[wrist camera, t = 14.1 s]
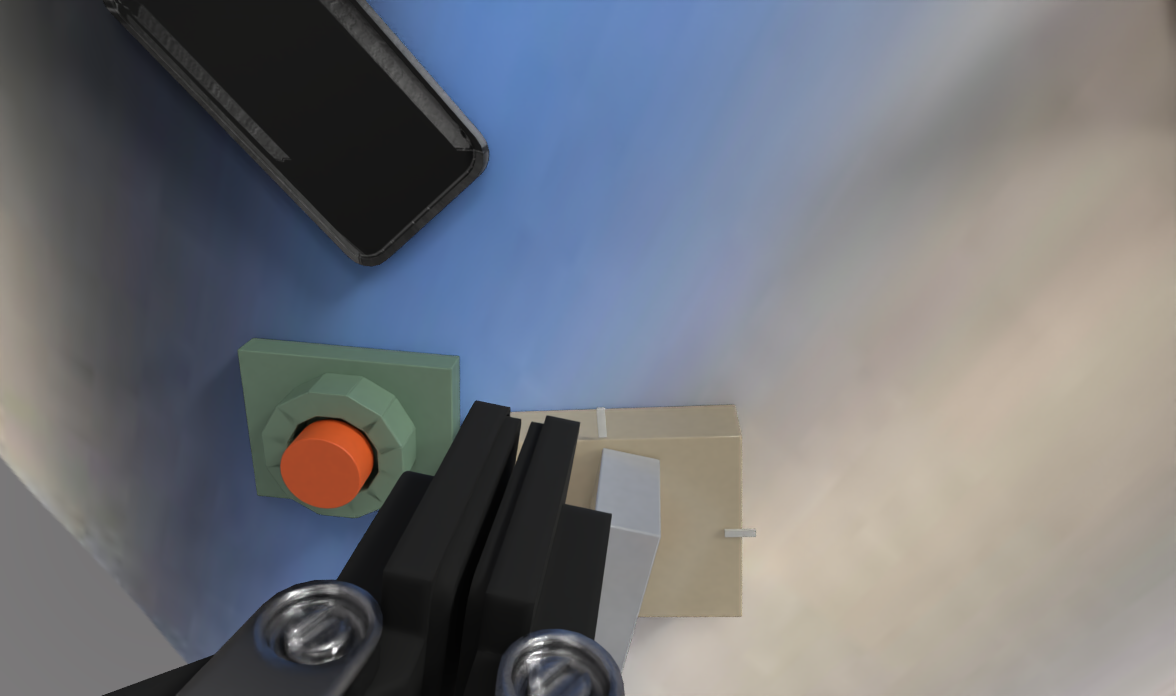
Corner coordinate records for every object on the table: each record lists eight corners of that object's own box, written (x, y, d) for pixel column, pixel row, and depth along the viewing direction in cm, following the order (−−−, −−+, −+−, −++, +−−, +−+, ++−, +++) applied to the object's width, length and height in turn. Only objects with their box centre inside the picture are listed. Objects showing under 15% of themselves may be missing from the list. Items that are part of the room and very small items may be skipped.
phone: (207, -171, 27) (495, 160, 30) (224, -163, 28) (500, 156, 31) (85, -9, 29) (365, 278, 33) (105, -8, 30) (374, 271, 34)
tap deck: (748, 372, 34) (757, 404, 31) (747, 600, 39) (755, 645, 36) (466, 382, 36) (450, 413, 33) (501, 601, 41) (489, 645, 38)
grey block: (602, 446, 33) (592, 525, 28) (660, 458, 33) (661, 540, 28) (566, 602, 37) (551, 698, 31) (618, 613, 37) (612, 711, 31)
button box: (459, 355, 35) (439, 388, 32) (461, 498, 38) (443, 541, 35) (252, 337, 36) (213, 367, 32) (271, 479, 39) (236, 520, 36)
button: (372, 422, 33) (358, 442, 32) (376, 490, 35) (363, 513, 33) (293, 415, 34) (275, 434, 32) (301, 483, 35) (283, 505, 33)
